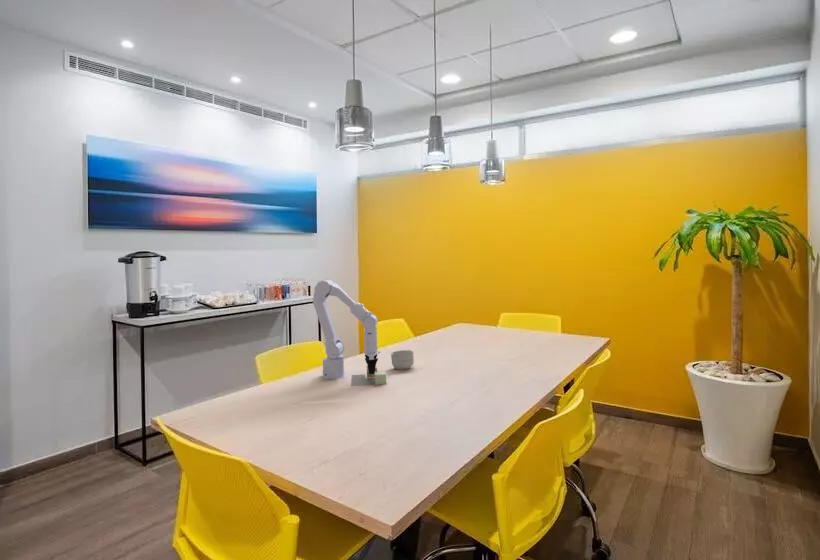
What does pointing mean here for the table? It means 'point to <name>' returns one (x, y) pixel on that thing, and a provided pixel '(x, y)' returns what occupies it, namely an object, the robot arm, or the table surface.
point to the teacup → (402, 359)
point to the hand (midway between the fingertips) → (371, 371)
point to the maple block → (371, 374)
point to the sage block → (380, 377)
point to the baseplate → (363, 380)
